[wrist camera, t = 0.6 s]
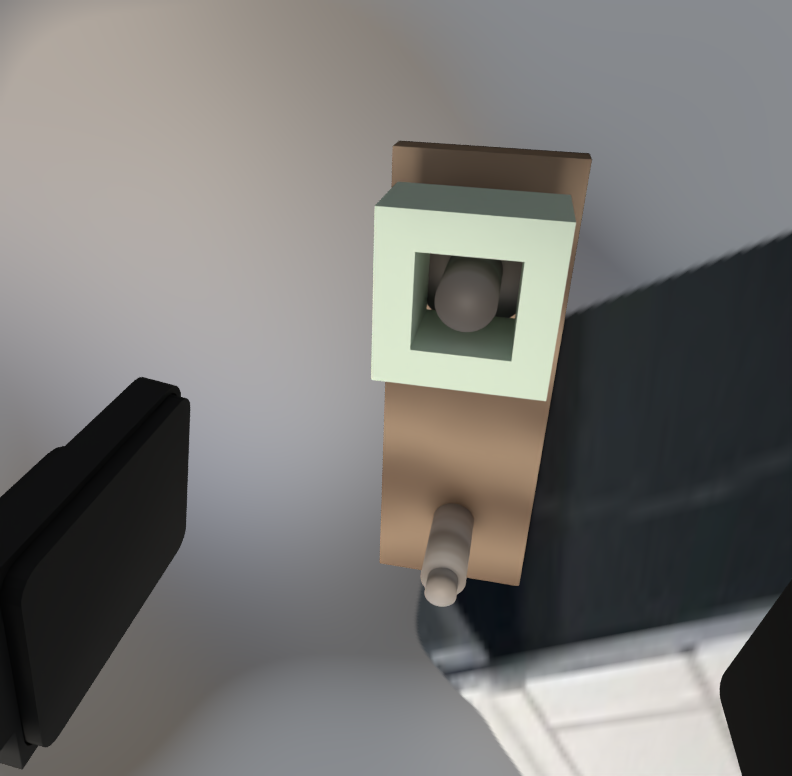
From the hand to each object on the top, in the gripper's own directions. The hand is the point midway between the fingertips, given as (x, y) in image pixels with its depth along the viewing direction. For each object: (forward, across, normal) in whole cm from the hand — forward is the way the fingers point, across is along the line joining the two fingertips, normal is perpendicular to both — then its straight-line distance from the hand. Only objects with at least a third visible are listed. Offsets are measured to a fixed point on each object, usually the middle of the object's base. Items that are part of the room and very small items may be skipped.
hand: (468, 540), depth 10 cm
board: (+22, -1, +10) cm, 24 cm away
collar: (+17, +1, +2) cm, 17 cm away
